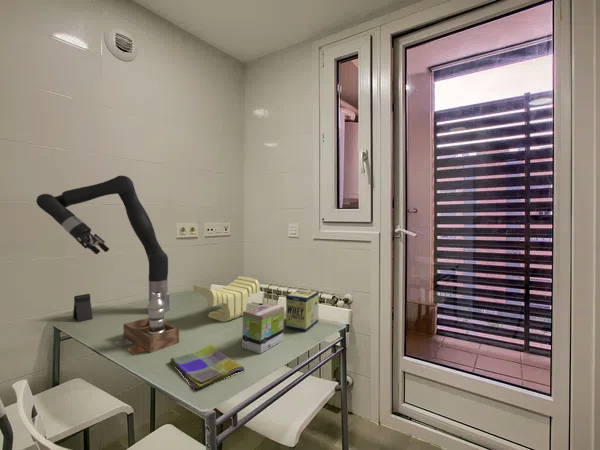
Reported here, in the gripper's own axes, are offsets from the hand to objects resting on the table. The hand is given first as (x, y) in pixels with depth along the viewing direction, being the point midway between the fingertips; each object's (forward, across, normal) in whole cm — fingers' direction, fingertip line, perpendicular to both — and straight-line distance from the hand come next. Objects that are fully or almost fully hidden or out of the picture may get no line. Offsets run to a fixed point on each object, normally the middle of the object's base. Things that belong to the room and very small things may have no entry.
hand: (103, 251), depth 142 cm
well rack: (+44, -25, +5) cm, 51 cm away
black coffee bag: (+15, +8, +35) cm, 39 cm away
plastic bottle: (+47, -27, +1) cm, 54 cm away
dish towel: (+64, -49, -14) cm, 82 cm away
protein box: (+92, -14, -42) cm, 102 cm away
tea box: (+78, -33, -29) cm, 90 cm away
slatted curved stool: (+66, +3, -16) cm, 68 cm away
